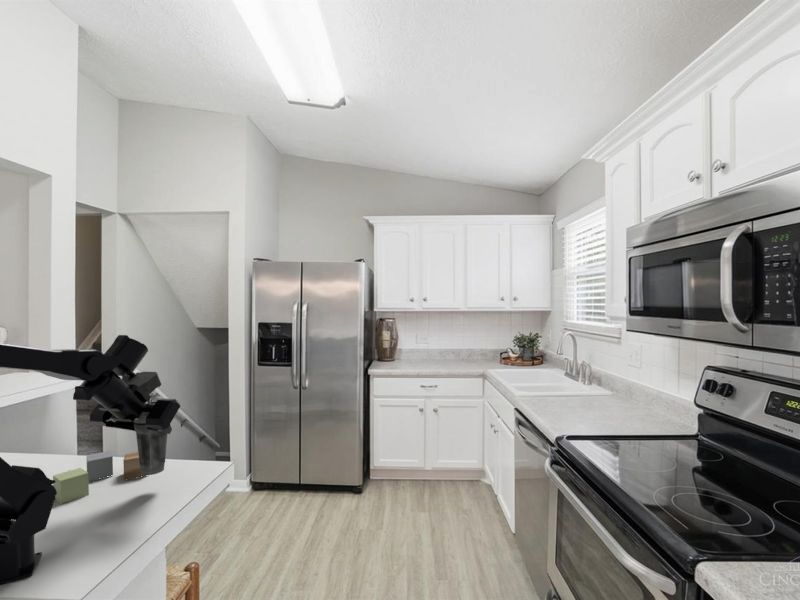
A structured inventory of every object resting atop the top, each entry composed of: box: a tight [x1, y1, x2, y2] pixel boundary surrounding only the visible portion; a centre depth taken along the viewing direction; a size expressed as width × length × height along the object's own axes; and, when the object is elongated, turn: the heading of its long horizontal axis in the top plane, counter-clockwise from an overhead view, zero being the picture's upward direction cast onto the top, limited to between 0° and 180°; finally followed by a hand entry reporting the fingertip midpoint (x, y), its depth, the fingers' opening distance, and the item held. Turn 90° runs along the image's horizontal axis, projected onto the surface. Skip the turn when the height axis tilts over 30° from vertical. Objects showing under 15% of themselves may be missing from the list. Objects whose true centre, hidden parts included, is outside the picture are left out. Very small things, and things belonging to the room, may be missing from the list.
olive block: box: [52, 467, 90, 504], centre depth 92 cm, size 5×5×5 cm
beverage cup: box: [133, 393, 168, 476], centre depth 93 cm, size 7×7×20 cm
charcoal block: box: [86, 450, 114, 482], centre depth 103 cm, size 5×5×5 cm
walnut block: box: [122, 450, 147, 481], centre depth 103 cm, size 5×5×5 cm
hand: (157, 431), depth 95 cm, fingers closed on beverage cup, 7 cm apart
